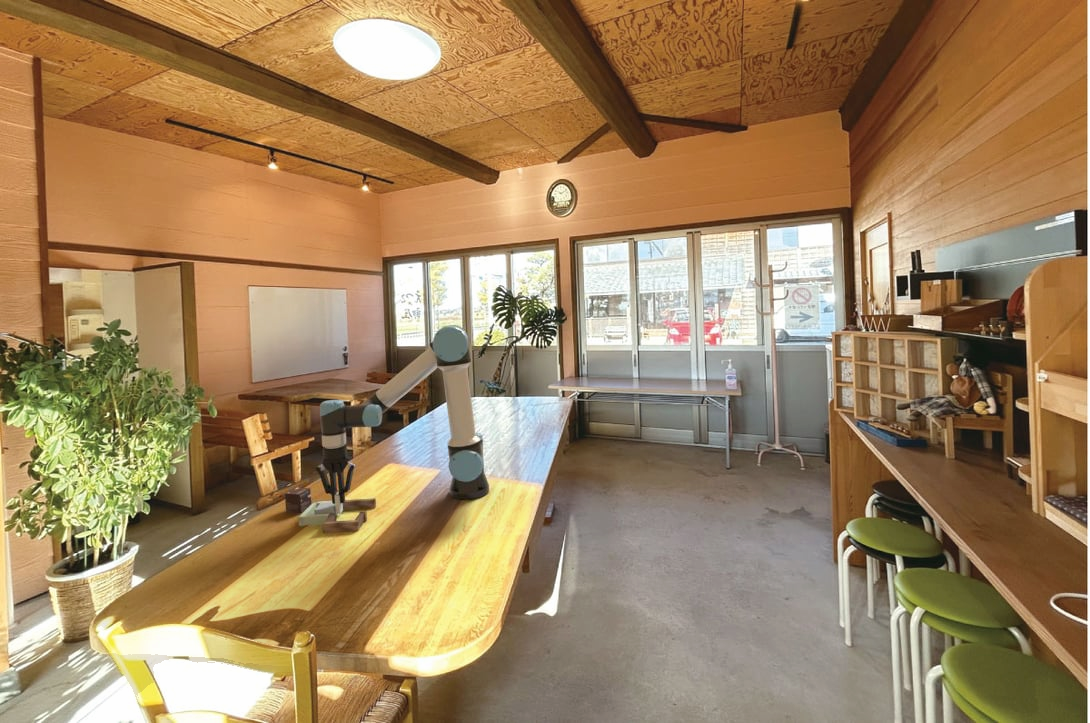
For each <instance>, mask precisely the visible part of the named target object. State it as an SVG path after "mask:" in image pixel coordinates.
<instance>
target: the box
mask: <svg viewBox="0 0 1090 723" xmlns="http://www.w3.org/2000/svg"><path fill="white" fill-rule="evenodd" d="M284 501H285V502H284V504H285V513H286V514H293V515H294V514H296V515H297V514H298V515H301V514H302V513H303V512H304V511H305V510H306V509H307V508H308V507H309V506H310V505H311V504H312V503H313V502H312V493H311V487H295V488H293V489H290V490H288V492H285V493H284Z"/></svg>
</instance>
